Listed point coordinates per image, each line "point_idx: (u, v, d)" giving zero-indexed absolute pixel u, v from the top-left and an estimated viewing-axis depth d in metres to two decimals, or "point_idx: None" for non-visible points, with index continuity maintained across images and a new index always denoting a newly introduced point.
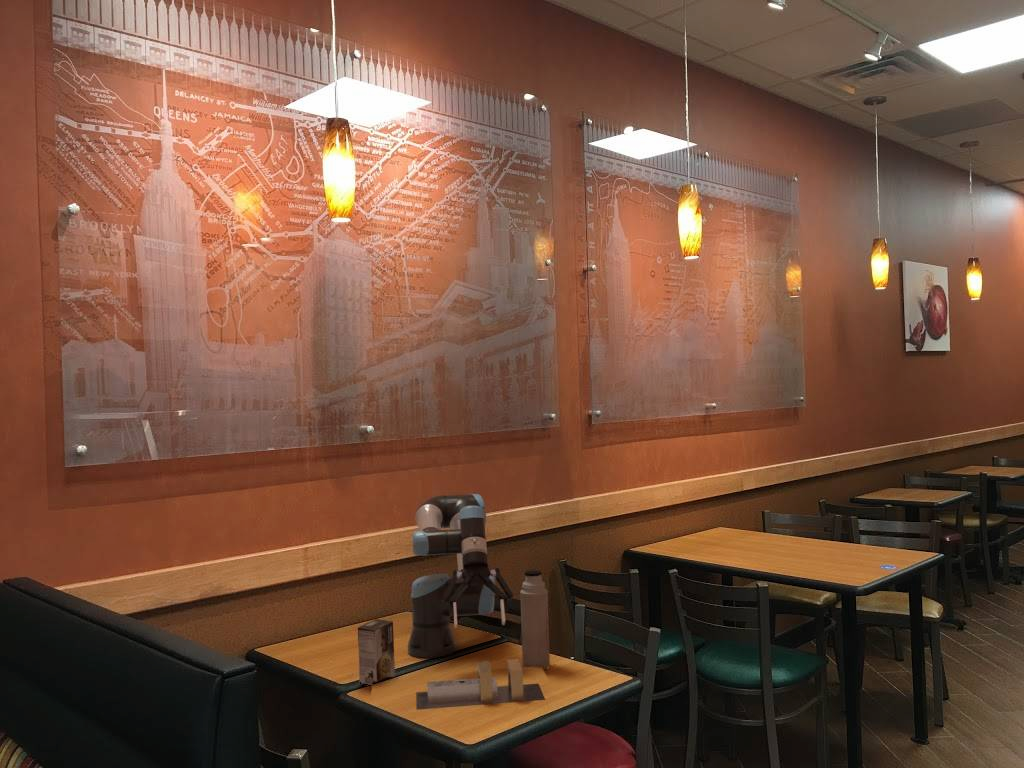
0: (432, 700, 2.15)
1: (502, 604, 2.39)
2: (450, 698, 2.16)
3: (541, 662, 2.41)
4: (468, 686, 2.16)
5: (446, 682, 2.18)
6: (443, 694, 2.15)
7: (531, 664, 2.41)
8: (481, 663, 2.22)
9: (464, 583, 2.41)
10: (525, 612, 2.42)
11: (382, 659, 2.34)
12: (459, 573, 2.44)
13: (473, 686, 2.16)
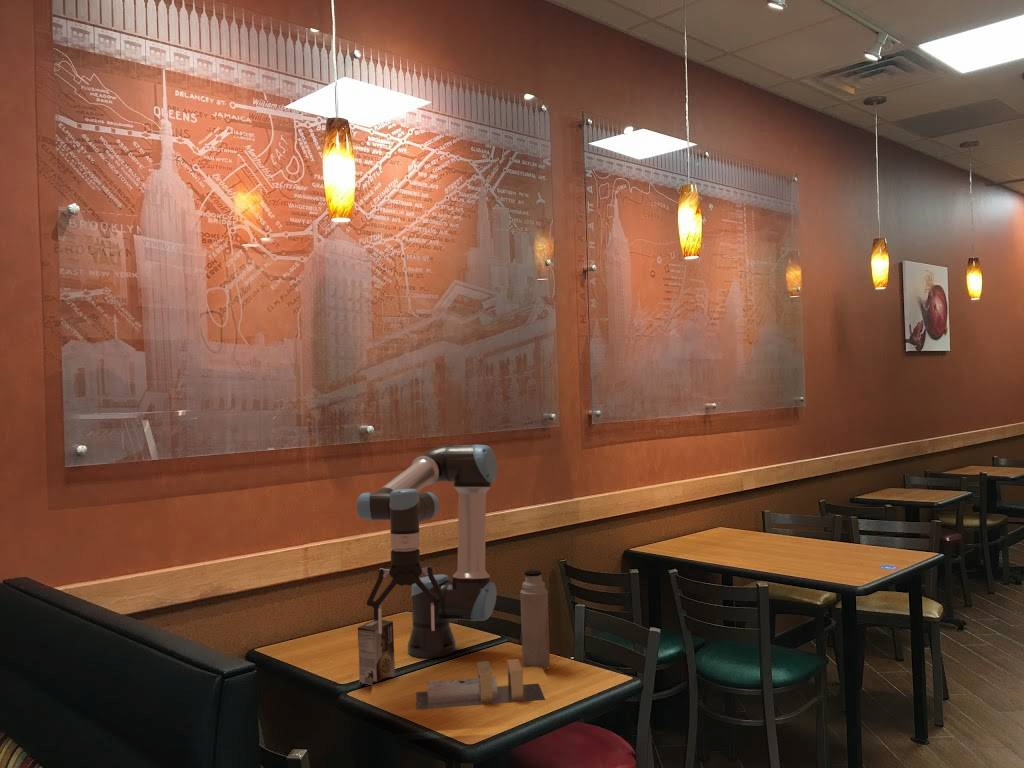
0: (432, 700, 2.15)
1: (432, 611, 2.17)
2: (450, 698, 2.16)
3: (541, 662, 2.41)
4: (468, 686, 2.16)
5: (446, 682, 2.18)
6: (443, 694, 2.15)
7: (531, 664, 2.41)
8: (481, 663, 2.22)
9: (391, 586, 2.15)
10: (525, 612, 2.42)
11: (382, 659, 2.34)
12: (386, 571, 2.16)
13: (473, 686, 2.16)
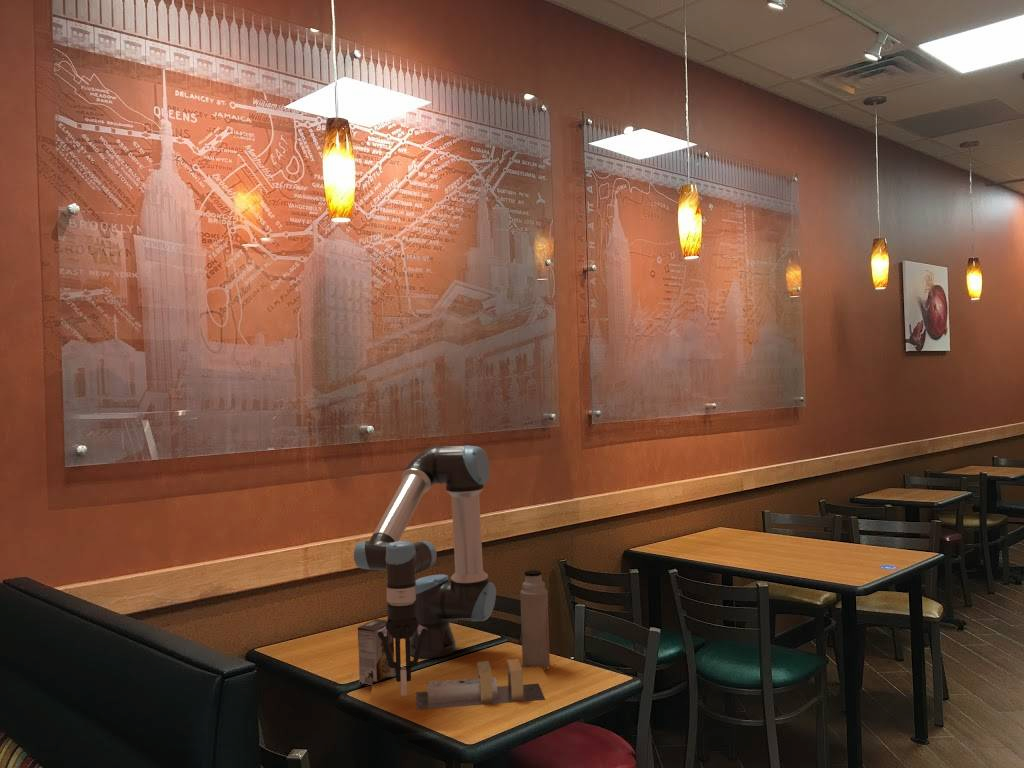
0: (432, 700, 2.15)
1: (404, 675, 2.15)
2: (450, 698, 2.16)
3: (541, 662, 2.41)
4: (468, 686, 2.16)
5: (446, 682, 2.18)
6: (443, 694, 2.15)
7: (531, 664, 2.41)
8: (481, 663, 2.22)
9: (397, 643, 2.15)
10: (525, 612, 2.42)
11: (382, 659, 2.34)
12: (384, 630, 2.15)
13: (473, 686, 2.16)
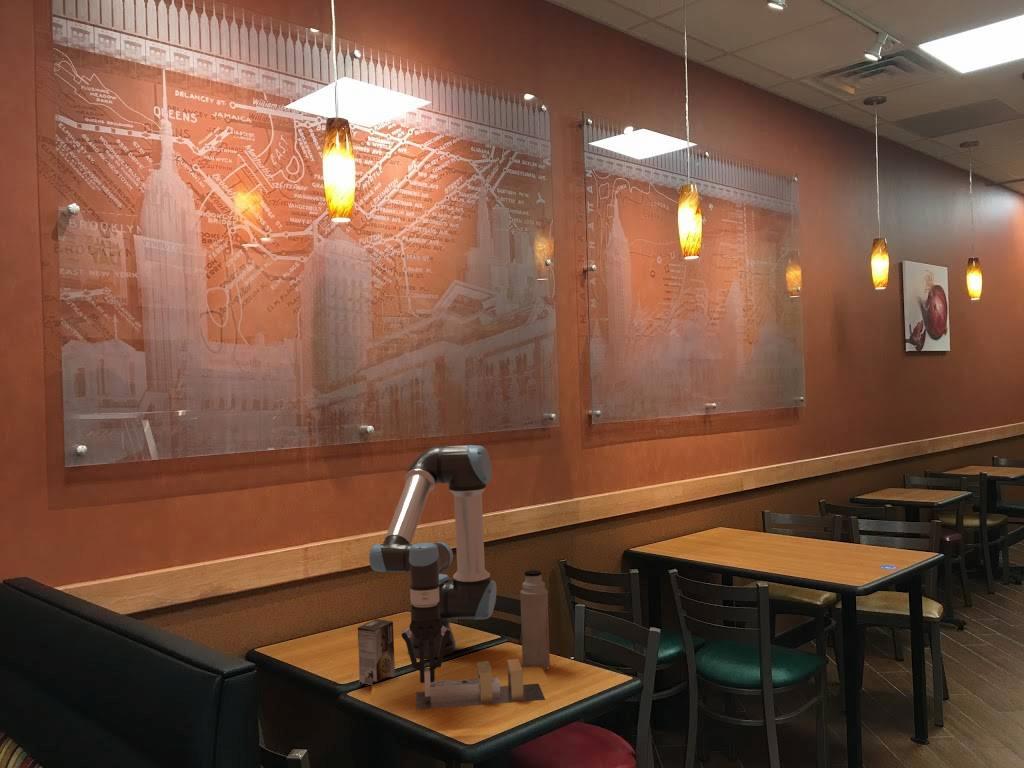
0: (435, 700, 2.15)
1: (428, 677, 2.16)
2: (453, 698, 2.16)
3: (541, 662, 2.41)
4: (471, 686, 2.16)
5: (449, 682, 2.18)
6: (446, 694, 2.16)
7: (531, 664, 2.41)
8: (481, 663, 2.22)
9: (421, 644, 2.16)
10: (525, 612, 2.42)
11: (382, 659, 2.34)
12: (408, 631, 2.16)
13: (476, 686, 2.16)
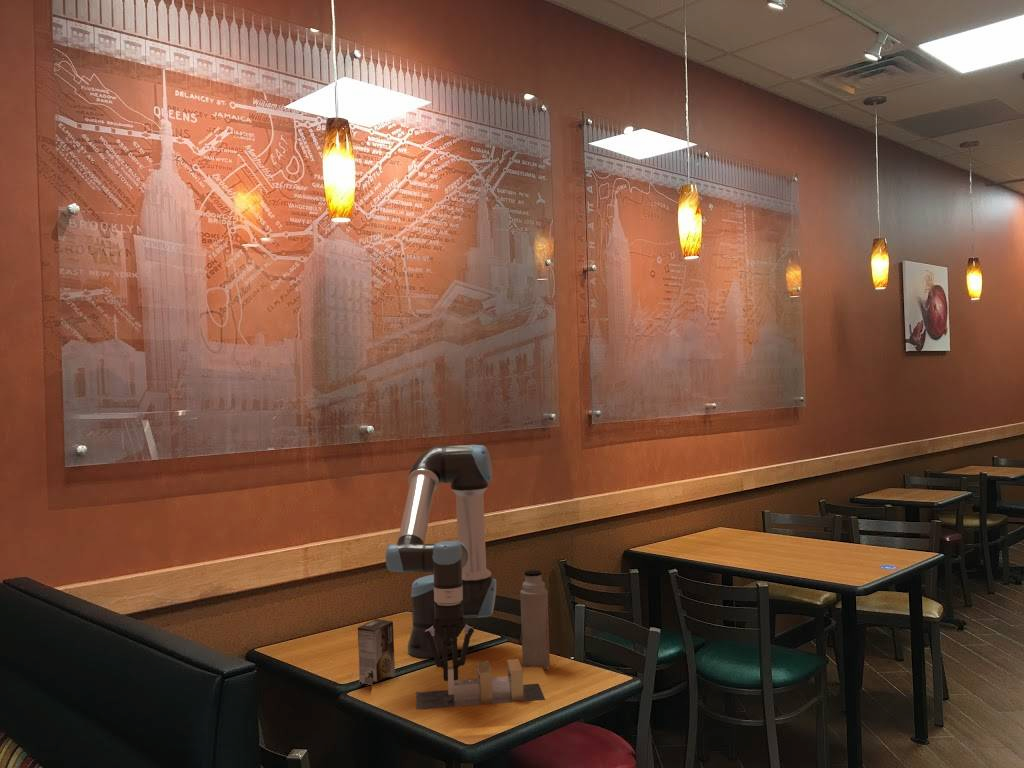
0: (458, 698, 2.16)
1: (452, 675, 2.16)
2: (476, 696, 2.16)
3: (541, 662, 2.41)
4: (494, 684, 2.17)
5: (472, 680, 2.19)
6: (469, 692, 2.16)
7: (531, 664, 2.41)
8: (481, 663, 2.22)
9: (445, 642, 2.16)
10: (525, 612, 2.42)
11: (382, 659, 2.34)
12: (432, 630, 2.17)
13: (499, 684, 2.17)
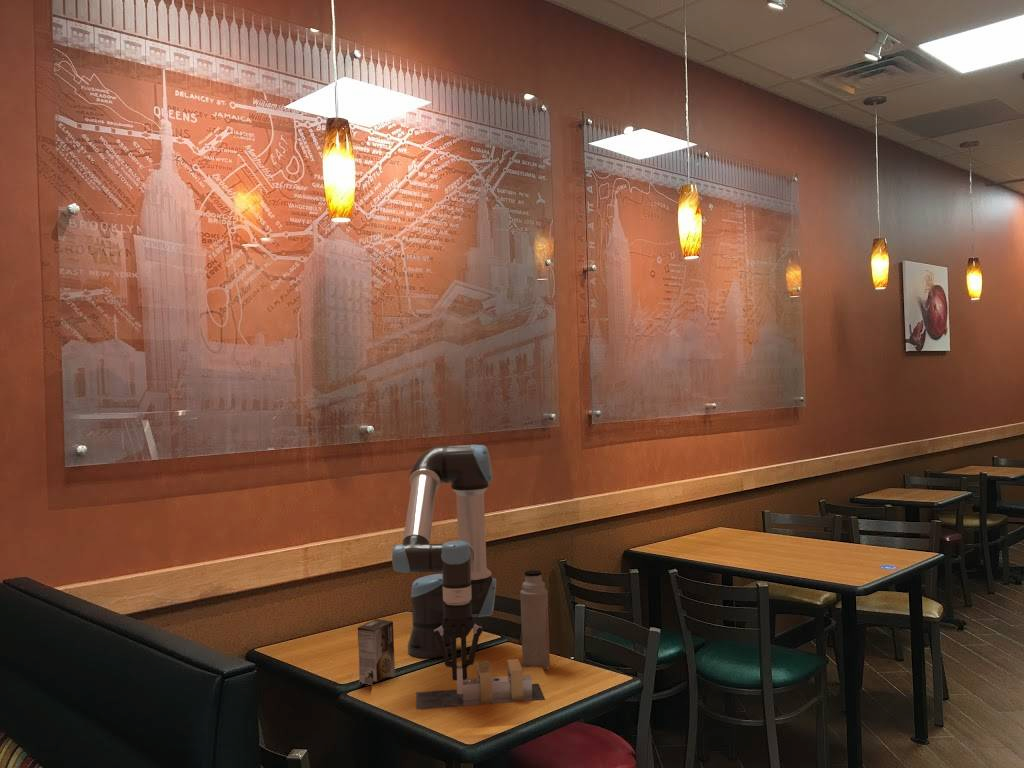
0: (467, 698, 2.16)
1: (461, 674, 2.17)
2: None
3: (541, 662, 2.41)
4: (503, 683, 2.17)
5: None
6: (478, 692, 2.16)
7: (531, 664, 2.41)
8: (481, 663, 2.22)
9: (453, 642, 2.16)
10: (525, 612, 2.42)
11: (382, 659, 2.34)
12: (440, 629, 2.17)
13: (508, 683, 2.17)
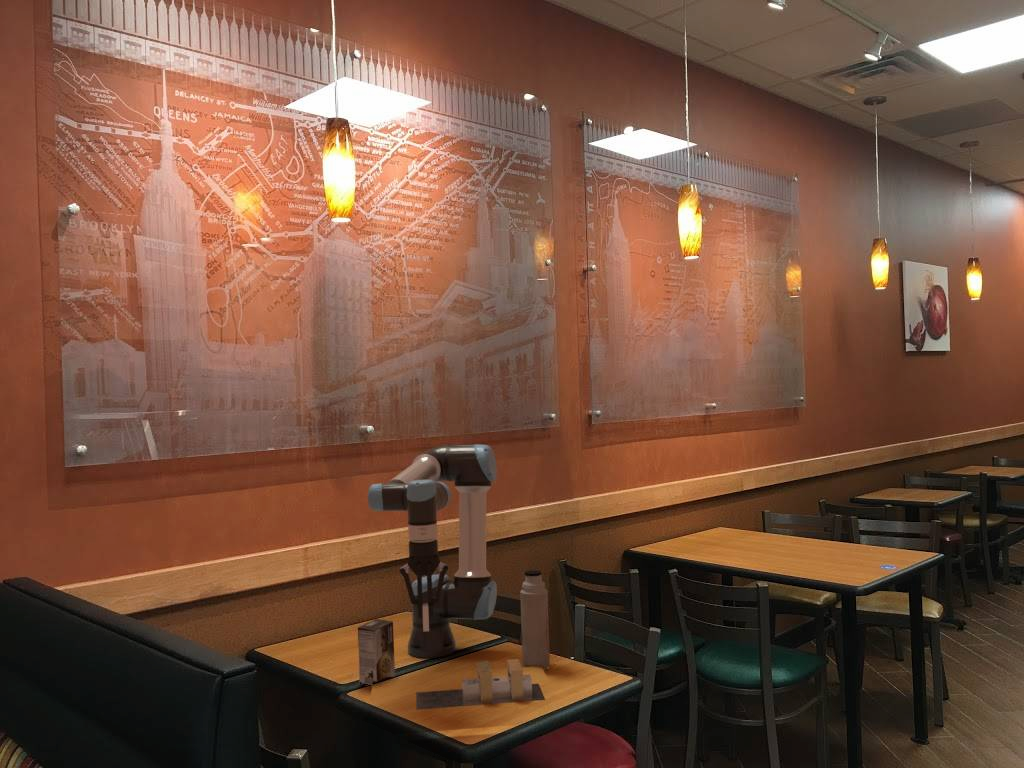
0: (467, 698, 2.16)
1: (426, 612, 2.17)
2: None
3: (541, 662, 2.41)
4: (503, 683, 2.17)
5: None
6: (478, 692, 2.16)
7: (531, 664, 2.41)
8: (481, 663, 2.22)
9: (419, 579, 2.16)
10: (525, 612, 2.42)
11: (382, 659, 2.34)
12: (406, 567, 2.17)
13: (508, 683, 2.17)
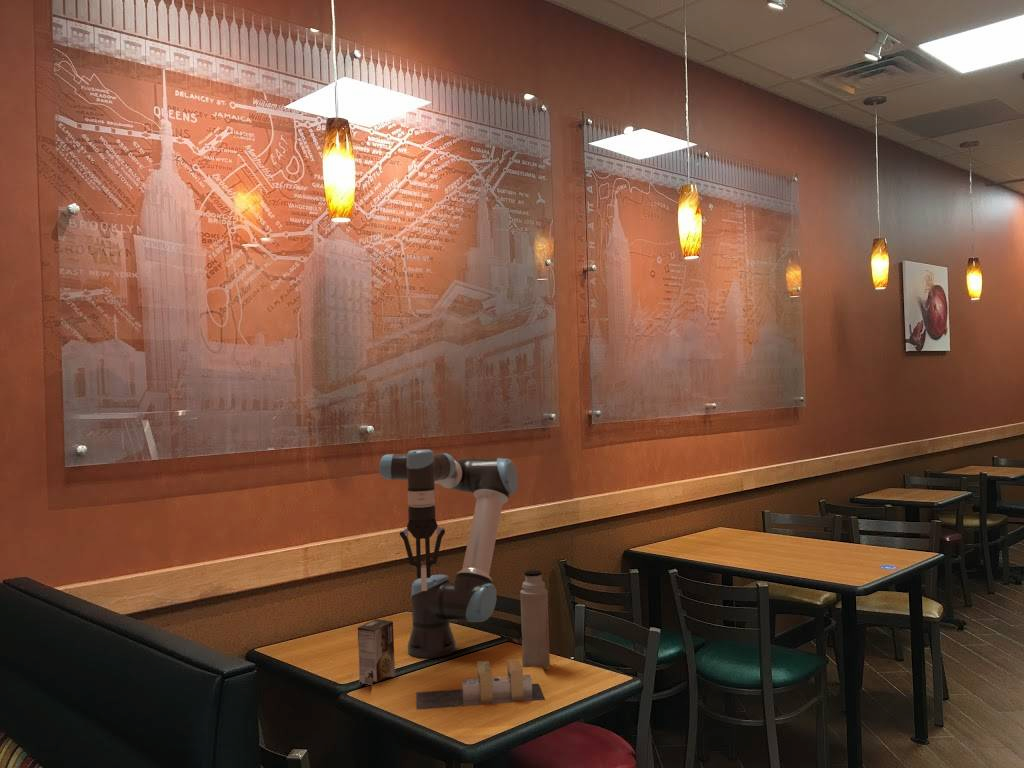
0: (467, 698, 2.16)
1: (425, 572, 2.32)
2: None
3: (541, 662, 2.41)
4: (503, 683, 2.17)
5: None
6: (478, 692, 2.16)
7: (531, 664, 2.41)
8: (481, 663, 2.22)
9: (418, 542, 2.32)
10: (525, 612, 2.42)
11: (382, 659, 2.34)
12: (406, 530, 2.32)
13: (508, 683, 2.17)
